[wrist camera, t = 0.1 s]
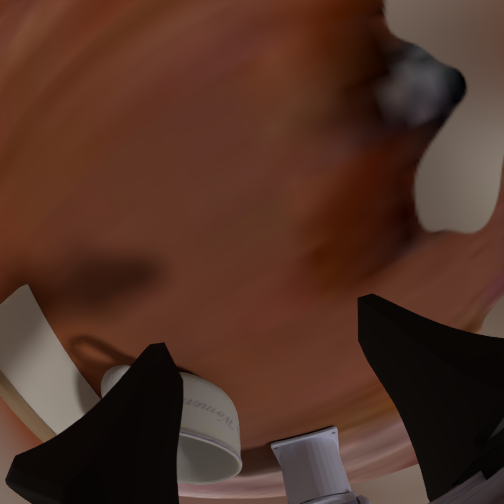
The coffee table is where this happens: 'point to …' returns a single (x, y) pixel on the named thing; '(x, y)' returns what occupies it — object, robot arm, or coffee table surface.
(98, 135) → the coffee table surface
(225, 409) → the teacup
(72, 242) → the coffee table surface
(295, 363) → the coffee table surface
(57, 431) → the cream slab
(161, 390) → the robot arm
